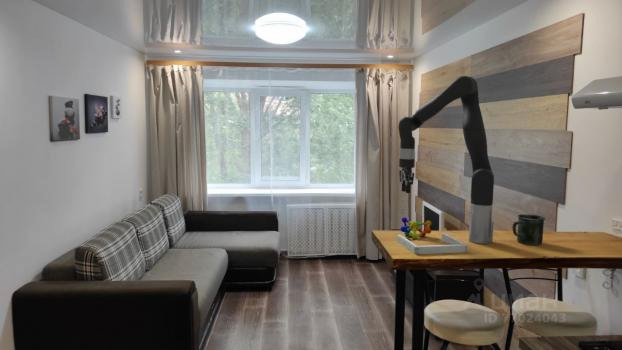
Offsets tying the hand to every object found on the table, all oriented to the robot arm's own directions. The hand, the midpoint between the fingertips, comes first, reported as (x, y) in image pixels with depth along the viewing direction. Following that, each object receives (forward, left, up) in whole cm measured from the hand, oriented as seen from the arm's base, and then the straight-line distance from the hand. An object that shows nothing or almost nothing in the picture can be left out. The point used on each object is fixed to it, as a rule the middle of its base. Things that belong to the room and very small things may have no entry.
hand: (405, 192), depth 216 cm
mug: (-46, +30, -20) cm, 58 cm away
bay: (0, +30, -19) cm, 35 cm away
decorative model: (0, +13, -20) cm, 24 cm away
